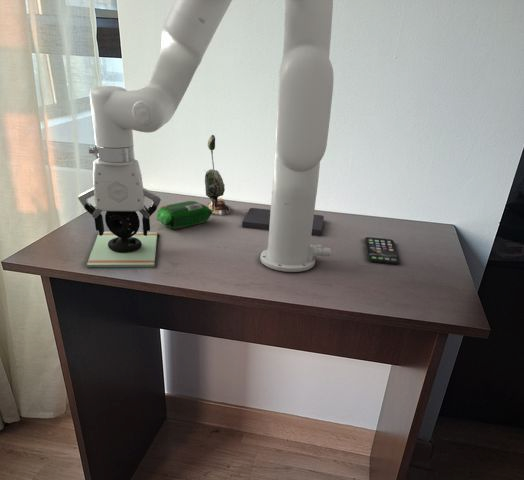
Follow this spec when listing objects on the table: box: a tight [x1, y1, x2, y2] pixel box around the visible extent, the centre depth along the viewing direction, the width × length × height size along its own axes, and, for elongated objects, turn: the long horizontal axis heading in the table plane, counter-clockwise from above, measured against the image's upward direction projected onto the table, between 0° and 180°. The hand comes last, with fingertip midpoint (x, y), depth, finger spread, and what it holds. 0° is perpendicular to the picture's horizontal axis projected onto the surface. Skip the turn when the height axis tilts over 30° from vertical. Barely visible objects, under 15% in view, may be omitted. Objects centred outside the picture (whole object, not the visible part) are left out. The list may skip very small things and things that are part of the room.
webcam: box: [104, 211, 142, 253], centre depth 108 cm, size 8×8×10 cm
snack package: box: [156, 200, 213, 230], centre depth 127 cm, size 7×16×5 cm, turn 131°
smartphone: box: [364, 236, 401, 265], centre depth 120 cm, size 7×1×15 cm
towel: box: [86, 231, 158, 268], centre depth 111 cm, size 14×20×1 cm
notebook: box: [241, 207, 325, 236], centre depth 133 cm, size 13×2×21 cm
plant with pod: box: [204, 134, 231, 216], centre depth 133 cm, size 8×11×20 cm
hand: (123, 233), depth 110 cm, fingers open, 9 cm apart
